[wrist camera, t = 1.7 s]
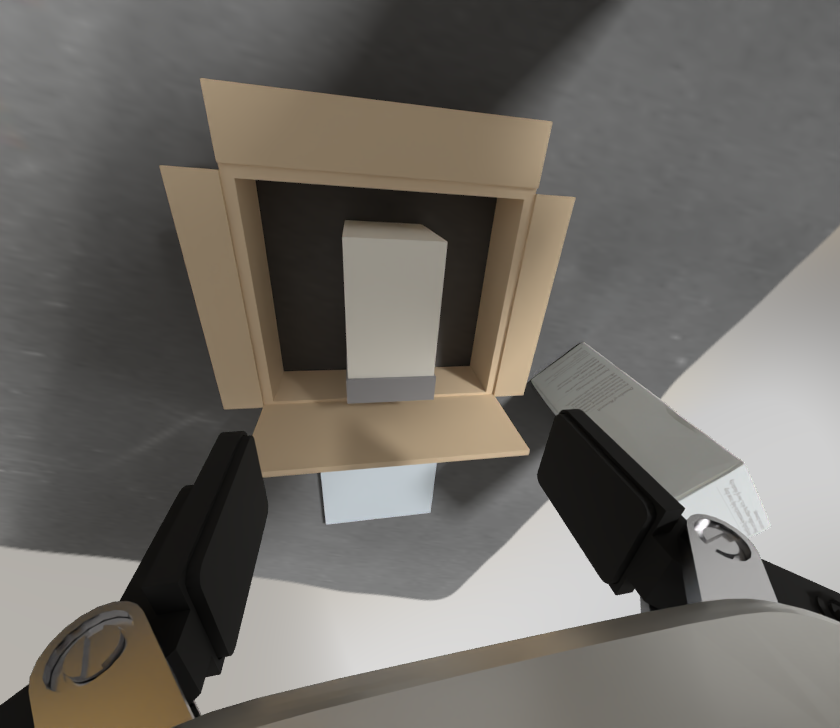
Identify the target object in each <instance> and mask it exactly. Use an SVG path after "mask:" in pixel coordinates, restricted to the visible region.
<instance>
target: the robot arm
mask: <svg viewBox="0 0 840 728" xmlns="http://www.w3.org/2000/svg"><path fill="white" fill-rule="evenodd" d="M537 477H538V482H539V484H540V486H541V487H542V489H543V490H544V492H545V493H546V495H547V496H548V498H549V499H550V501H551V503H552V504H553V506H554V507H555V508H556V510H557V512H558V513H559V515H560V516H561V518H562V519H563V521H564V522H565V524H566V526H567V527H568V529H569V530H570V532H571V533H572V535H573V536H574V538H575V540H576V541H577V543H578V544H579V546H580V547H581V549H582V550H583V552H584V553H585V555H586V557H587V558H588V559H589V561H590V563H591V564H592V566H593V567H594V569H595V570H596V572H597V574H598V575H599V577H600V578H601V579H602V580H603V581H604V582H605V583H607V584H609V586H610V587H611V589H612V590H613V592H614V593H615V595H620V594H625V593H630V592H633V590H634V589H636V591H637V592H638V594H639V595H640V601H641V613H640V614H635V615H630V616H626V617H621V618H616V619H611V620H607V621H602V622H597V623H592V624H588V625H583V626H578V627H574V628H568V629H564V630H559V631H554V632H550V633H546V634H540V635H536V636H531V637H526V638H522V639H517V640H512V641H508V642H504V643H498V644H494V645H489V646H485V647H480V648H475V649H471V650H466V651H461V652H457V653H452V654H448V655H443V656H439V657H434V658H430V659H425V660H421V661H416V662H412V663H407V664H402V665H398V666H393V667H389V668H385V669H380V670H375V671H371V672H367V673H362V674H357V675H353V676H348V677H344V678H339V679H335V680H331V681H327V682H323V683H319V684H314V685H310V686H306V687H302V688H298V689H294V690H290V691H285V692H281V693H277V694H273V695H269V696H265V697H260V698H256V699H253V700H249V701H246V702H243V703H240V704H236V705H233V706H230V707H226V708H222V709H219V710H216V711H212V712H210V713H207V714H204V715H201V713H200V711H199V708H198V707H197V704H196V702H195V699H196V698H197V697H198V696H199V694H201V690H202V687H203V684H204V680H205V677H209V676H214V675H219V674H221V670H222V667H223V663H224V659H225V657H227V656H231V655H232V654H233V652H234V650H235V646H236V642H237V639H238V634H239V630H240V626H241V622H242V618H243V614H244V610H245V605H246V601H247V597H248V593H249V589H250V585H251V580H252V577H253V572H254V568H255V564H256V560H257V556H258V552H259V548H260V543H261V539H262V535H263V531H264V527H265V523H266V518H267V514H268V501H267V496H266V491H265V487H264V482H263V477H262V472H261V468H260V463H259V458H258V454H257V449H256V444H255V440H254V437H253V436H247V433H246V432H245V431H236V432H222V433H221V434H220V435H219V437H218V439H217V440H216V442H215V444H214V446H213V448H212V450H211V452H210V454H209V456H208V458H207V460H206V462H205V464H204V466H203V468H202V470H201V472H200V474H199V476H198V478H197V480H196V481H195V483H194V485H188V486H185V487H183V488H182V489H181V491H180V492H179V494H178V495H177V497H176V499H175V501H174V503H173V504H172V506H171V508H170V510H169V512H168V514H167V515H166V517H165V519H164V521H163V523H162V525H161V526H160V528H159V530H158V532H157V534H156V536H155V537H154V539H153V541H152V543H151V545H150V546H149V548H148V550H147V552H146V554H145V556H144V557H143V559H142V561H141V563H140V565H139V567H138V569H137V570H136V572H135V574H134V576H133V578H132V579H131V581H130V583H129V585H128V587H127V589H126V591H125V592H124V594H123V596H122V598H121V600H120V601H118V602H112V603H109V604H106V605H102V606H99V607H97V608H95V609H93V610H91V611H90V612H88V613H86V614H84V615H82V616H80V617H79V618H78V619H76V620H75V621H74V622H73V623H71V624H70V625H68V626H67V627H66V628H65V629H64V630H62V632H61V633H59V634H58V635H57V636H56V637H55V638H54V639H53V640H52V641H51V642H50V644H49V645H48V646H47V647H46V649H45V650H44V651H43V653H42V654H41V656H40V657H39V658H38V660H37V662H36V664H35V666H34V668H33V671H32V673H31V675H30V680H29V685H27V686H26V687H24V688H23V689H22V690H20V691H19V692H18V693H16V694H15V695H14V696H12V697H11V698H10V699H8V700H7V701H6V702H4V703H3V704H1V705H0V728H840V594H839V593H837V592H835V591H833V590H830V589H828V588H826V587H824V586H821V585H819V584H817V583H815V582H812V581H810V580H808V579H806V578H803V577H801V576H799V575H797V574H794V573H792V572H790V571H788V570H785V569H783V568H781V567H779V566H776V565H774V564H772V563H770V562H767V561H765V560H763V559H761V557H760V555H759V553H758V551H757V549H756V548H755V546H754V544H753V543H752V542H751V541H750V540H749V539H748V538H747V537H746V536H745V535H744V534H742V533H741V532H740V531H739V530H738V529H736V528H735V527H733V526H731V525H730V524H728V523H727V522H725V521H722V520H720V519H718V518H716V517H713V516H709V515H706V514H694V515H691V516H690V517H689V518H688V519H687V520H686V519H685V518H684V517H683V516H682V513H683V512H684V510H685V508H684V507H683V506H682V505H681V504H680V503H679V502H678V501H677V500H676V499H675V498H674V497H673V496H672V495H671V494H670V493H669V492H668V491H667V490H666V489H664V488H663V487H662V486H661V485H660V484H659V483H658V482H657V481H656V480H655V479H654V478H653V477H652V476H651V475H650V474H649V473H648V472H647V471H646V470H645V469H643V468H642V467H641V466H640V465H639V464H638V463H637V462H636V461H635V460H634V459H633V458H632V457H631V456H630V455H629V454H628V453H627V452H626V451H625V450H623V449H622V448H621V447H620V446H619V445H618V444H617V443H616V442H615V441H614V440H613V439H612V438H611V437H610V436H609V435H608V434H607V433H606V432H605V431H603V430H602V429H601V428H600V427H599V426H598V425H597V424H596V423H595V422H594V421H593V420H592V419H591V418H590V417H589V416H588V415H587V414H586V413H585V412H584V411H582V410H581V409H565V410H561V411H560V412H559V414H558V415H556V416H555V418H554V422H553V425H552V428H551V431H550V434H549V438H548V441H547V444H546V447H545V451H544V454H543V457H542V460H541V463H540V467H539V470H538V474H537Z"/></svg>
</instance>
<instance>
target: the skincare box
mask: <svg viewBox="0 0 840 728" xmlns="http://www.w3.org/2000/svg"><path fill="white" fill-rule="evenodd" d="M531 382H532V384H533V385H534V387H535V388H536V390H537V391H538V393H539V394H540V396H541V397H542V398H543V400H544V401H545V402H546V404H547V405H548V406H549V408H550V409H551V410H552V412H553V413H554V414H555V415H558V414H559V412H560V411H561V410H565V409H581V410H582V411H584V412H585V413H586V414H587V415H588V416H589V417H590V418H591V419H592V420H593V421H594V422H595V423H596V424H597V425H598V426H599V427H600V428H601V429H602V430H603V431H605V432H606V433H607V434H608V435H609V436H610V437H611V438H612V439H613V440H614V441H615V442H616V443H617V444H618V445H619V446H620V447H621V448H622V449H623V450H625V451H626V452H627V453H628V454H629V455H630V456H631V457H632V458H633V459H634V460H635V461H636V462H637V463H638V464H639V465H640V466H641V467H642V468H643V469H645V470H646V471H647V472H648V473H649V474H650V475H651V476H652V477H653V478H654V479H655V480H656V481H657V482H658V483H659V484H660V485H661V486H662V487H663V488H664V489H666V490H667V491H668V492H669V493H670V494H671V495H672V496H673V497H674V498H675V499H676V500H677V501H678V502H679V503H680V504H681V505H682V506H683V507H684V508H685V510H684V512H683V513H682V516H683V517H684V518H685V519H686V520H687V519H688V518H689V517H690V516H691V515H694V514H706V515H709V516H713V517H716V518H718V519H720V520H722V521H725V522H727V523H728V524H730V525H731V526H733V527H735V528H736V529H738V530H739V531H740V532H741V533H742V534H744V535H745V536H746V537H747V538H748V539H749V538H751V537H753V536H755V535H758V534H760V533H762V532H763V531H765V530H767V529H768V528H770V527H771V523H770V521H769V518H768V516H767V514H766V511H765V509H764V507H763V504H762V502H761V500H760V497H759V494H758V492H757V490H756V487H755V485H754V483H753V481H752V478H751V476H750V473H749V471H748V469H747V466H746V464H745V463H744V461H742V460H741V459H739V458H738V457H736V456H735V455H734V454H732V453H731V452H729V451H728V450H726V449H725V448H724V447H723V446H721V445H720V444H719V443H717V442H716V441H715V440H713V439H712V438H711V437H709V436H708V435H707V434H705V433H704V432H702V431H701V430H699V429H698V428H697V427H695V426H694V425H693V424H691V423H690V422H689V421H687V420H686V419H685V418H683V417H682V416H681V415H680V414H678V413H677V412H676V411H675V410H673V409H672V408H671V407H670V406H668V405H667V404H665V402H663V401H662V400H661V399H659V398H658V397H657V396H655V395H654V394H653V393H651V392H650V391H649V390H647V389H646V388H645V387H643V386H642V385H641V384H639V383H638V382H637V381H635V380H634V379H633V378H631V377H630V376H629V375H627V374H626V373H625V372H623V371H622V370H621V369H619V368H618V367H617V366H615V365H614V364H613V363H611V362H610V361H609V360H607V359H606V358H605V357H603V356H602V355H601V354H600V353H598V352H597V351H595V350H594V349H593V348H591V347H590V346H589V345H587V344H586V343H584V342H583V343H581V344H579V345H578V346H576V347H575V348H574V349H572V350H571V351H570V352H568V353H567V354H565V355H564V356H563V357H561V358H560V359H559V360H557V361H556V362H555V363H553V364H552V365H550V366H549V367H548V368H546V369H545V370H544V371H542V372H541V373H539V374H538V375H537V376H535V377H534V378H533V379H532V380H531Z"/></svg>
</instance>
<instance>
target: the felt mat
mask: <svg viewBox="0 0 840 728" xmlns="http://www.w3.org/2000/svg"><path fill="white" fill-rule="evenodd" d="M436 465H437V463H428V464H416V465H404V466H393V467H381V468H369V469H357V470H346V471H334V472H322V473H321V481H322V491H323V500H324V510H325V519H326V524H335V523H344V522H352V521H361V520H370V519H379V518H387V517H396V516H405V515H414V514H423V513H430V512H431V504H432V496H433V489H434V481H435V473H436Z"/></svg>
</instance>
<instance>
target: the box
mask: <svg viewBox="0 0 840 728" xmlns="http://www.w3.org/2000/svg"><path fill="white" fill-rule="evenodd" d="M447 243H448V242H447V241H446V240H444V239H443V238H441V237H440V236H438V235H437V234H435V233H434V232H432V231H431V230H429V229H428V228H426V227H425V226H423V225H422V224H409V223H391V222H373V221H354V220H345V222H344V228H343V235H342V245H343V269H344V293H345V317H346V342H347V368H346V388H347V404H354V403H375V402H396V401H417V400H434V392H435V383H436V376H435V374H434V368H435V359H436V349H437V340H438V330H439V320H440V311H441V301H442V291H443V282H444V272H445V263H446V253H447Z"/></svg>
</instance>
